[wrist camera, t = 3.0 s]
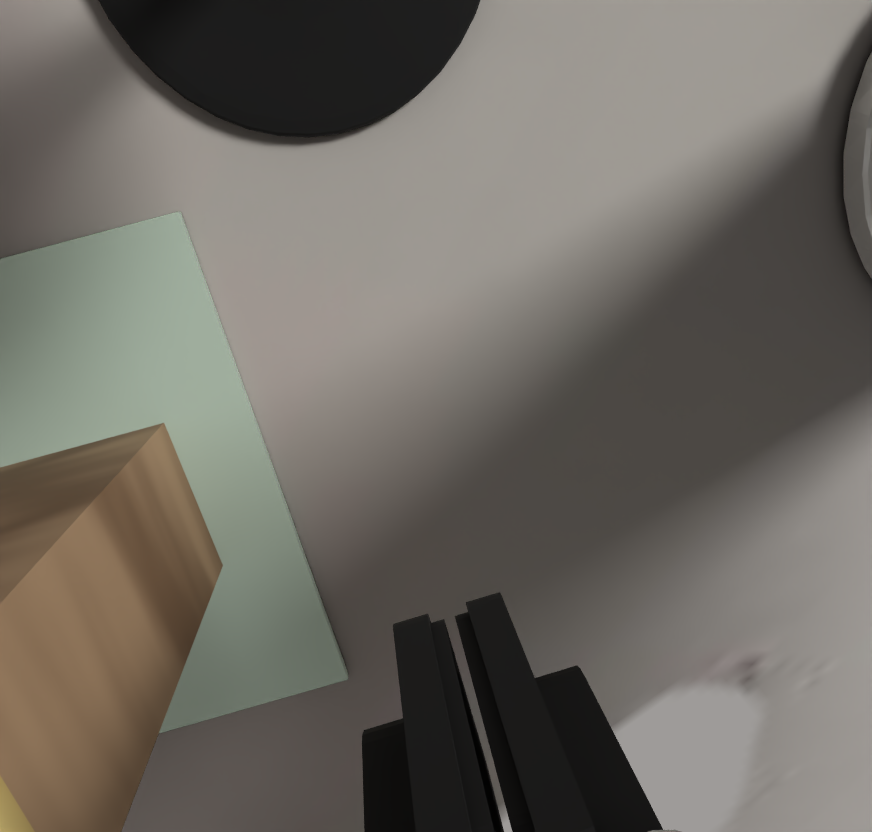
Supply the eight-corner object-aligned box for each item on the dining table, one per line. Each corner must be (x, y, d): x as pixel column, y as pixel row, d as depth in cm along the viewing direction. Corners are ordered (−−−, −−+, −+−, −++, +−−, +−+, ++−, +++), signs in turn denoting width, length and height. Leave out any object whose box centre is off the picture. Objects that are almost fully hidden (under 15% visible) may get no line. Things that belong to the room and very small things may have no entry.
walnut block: (164, 422, 19) (-113, 728, 8) (222, 565, 21) (61, 987, 10) (-3, 468, 19) (-520, 842, 8) (69, 608, 21) (-277, 1086, 10)
